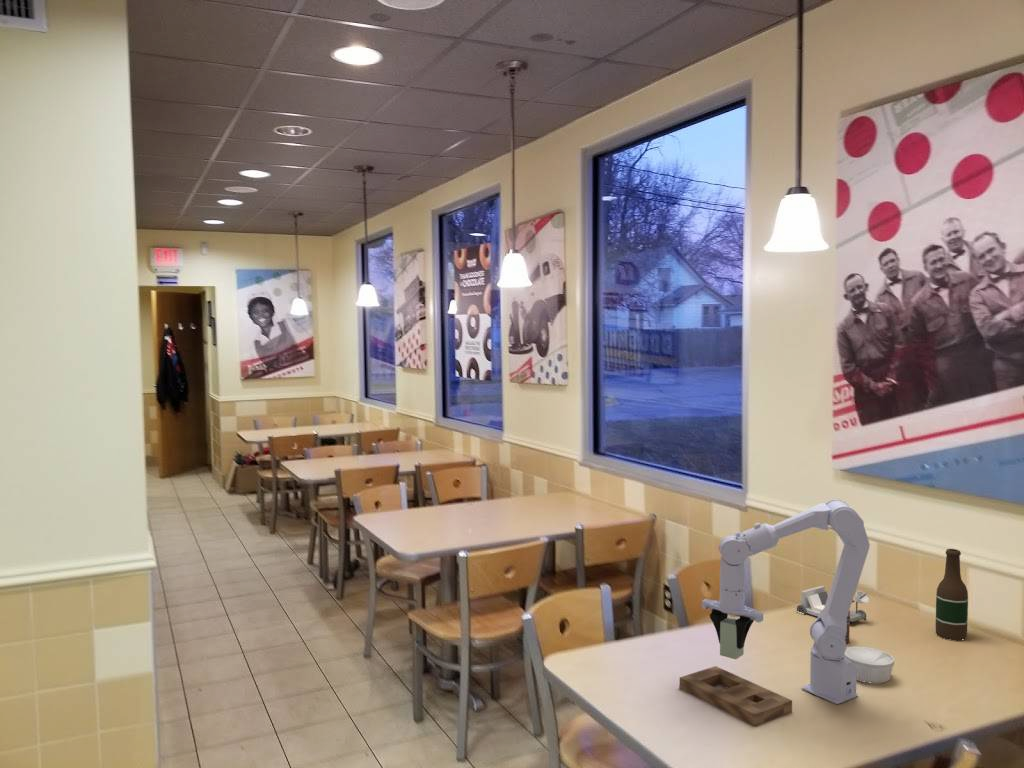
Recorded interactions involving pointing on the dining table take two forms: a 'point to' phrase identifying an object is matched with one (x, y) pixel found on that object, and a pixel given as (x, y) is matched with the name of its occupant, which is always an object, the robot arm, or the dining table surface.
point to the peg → (729, 639)
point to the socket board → (736, 695)
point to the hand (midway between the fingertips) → (731, 644)
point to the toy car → (817, 598)
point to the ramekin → (870, 663)
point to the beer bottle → (952, 600)
